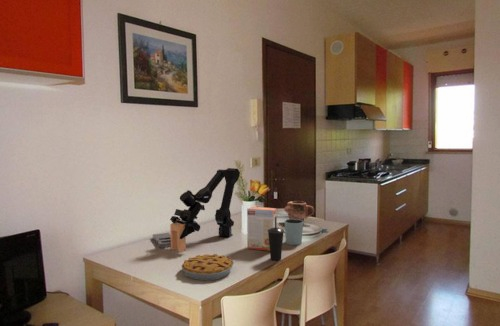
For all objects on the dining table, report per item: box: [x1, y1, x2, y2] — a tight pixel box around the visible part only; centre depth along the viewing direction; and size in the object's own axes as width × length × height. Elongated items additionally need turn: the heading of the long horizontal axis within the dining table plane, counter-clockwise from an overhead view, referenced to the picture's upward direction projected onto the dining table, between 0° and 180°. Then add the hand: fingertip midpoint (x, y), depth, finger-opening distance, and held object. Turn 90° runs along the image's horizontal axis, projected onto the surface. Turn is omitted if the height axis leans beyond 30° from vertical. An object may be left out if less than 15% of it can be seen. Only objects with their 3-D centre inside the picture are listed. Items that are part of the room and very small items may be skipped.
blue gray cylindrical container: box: [284, 218, 305, 246], centre depth 196 cm, size 10×10×12 cm
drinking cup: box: [268, 216, 285, 262], centre depth 170 cm, size 8×8×20 cm
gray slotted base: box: [152, 232, 171, 249], centre depth 199 cm, size 20×9×2 cm, turn 25°
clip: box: [169, 222, 187, 253], centre depth 185 cm, size 7×4×13 cm, turn 47°
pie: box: [181, 253, 235, 281], centre depth 156 cm, size 22×22×5 cm
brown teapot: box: [283, 200, 315, 223], centre depth 239 cm, size 20×12×14 cm, turn 72°
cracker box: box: [246, 206, 277, 252], centre depth 186 cm, size 14×6×21 cm, turn 69°
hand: (175, 237), depth 184 cm, fingers closed on clip, 7 cm apart
